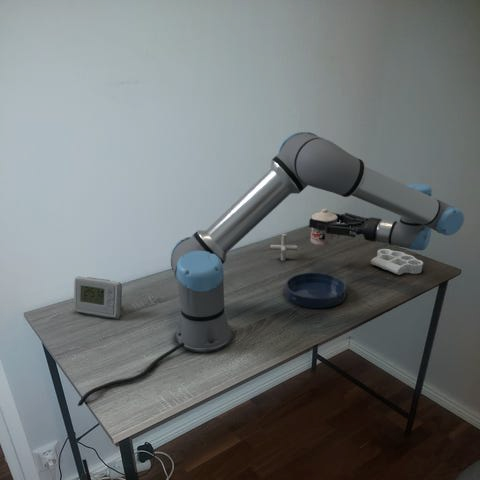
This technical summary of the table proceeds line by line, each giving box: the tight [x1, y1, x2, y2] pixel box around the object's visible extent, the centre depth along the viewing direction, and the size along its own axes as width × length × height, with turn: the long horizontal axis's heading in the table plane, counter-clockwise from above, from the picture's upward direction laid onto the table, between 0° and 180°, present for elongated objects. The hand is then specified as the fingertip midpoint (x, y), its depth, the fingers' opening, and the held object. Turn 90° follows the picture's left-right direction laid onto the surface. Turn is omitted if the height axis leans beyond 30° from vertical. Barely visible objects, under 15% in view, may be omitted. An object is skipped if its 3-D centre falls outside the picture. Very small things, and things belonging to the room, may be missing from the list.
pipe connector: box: [269, 233, 298, 262], centre depth 168 cm, size 10×10×10 cm
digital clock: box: [73, 275, 123, 319], centre depth 135 cm, size 16×9×11 cm, turn 60°
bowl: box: [284, 272, 347, 309], centre depth 145 cm, size 19×19×3 cm
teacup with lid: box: [310, 208, 341, 247], centre depth 155 cm, size 12×9×12 cm
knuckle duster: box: [370, 248, 424, 276], centre depth 164 cm, size 3×18×15 cm
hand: (316, 219), depth 157 cm, fingers closed on teacup with lid, 9 cm apart
